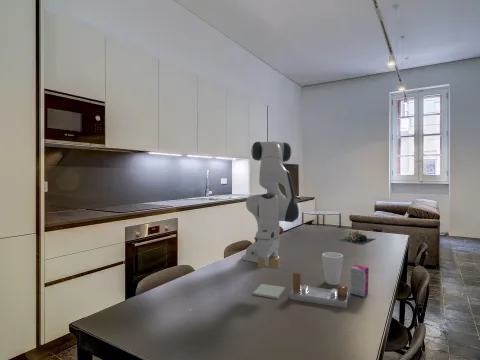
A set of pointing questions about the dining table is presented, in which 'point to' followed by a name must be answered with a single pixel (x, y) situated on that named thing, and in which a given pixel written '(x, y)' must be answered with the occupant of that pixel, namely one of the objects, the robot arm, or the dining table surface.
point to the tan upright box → (274, 262)
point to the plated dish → (356, 238)
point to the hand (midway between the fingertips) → (269, 263)
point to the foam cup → (332, 267)
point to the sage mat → (269, 291)
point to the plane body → (318, 293)
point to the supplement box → (359, 281)
